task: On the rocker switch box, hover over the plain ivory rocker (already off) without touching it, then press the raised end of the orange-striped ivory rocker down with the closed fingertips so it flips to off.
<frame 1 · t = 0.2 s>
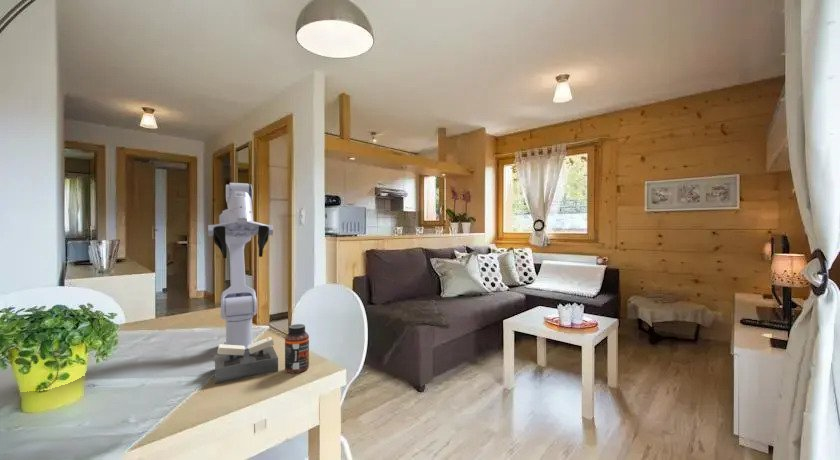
hand: (243, 254, 84), 31 cm above the table, tool tilted 45°, fingers open, 7 cm apart
rocker A: (231, 349, 92), point 5 cm above the table, hinge at -14.0°
rocker B: (260, 344, 95), point 5 cm above the table, hinge at 14.0°
rocker switch box: (246, 370, 92), on the table
supplement bottle: (297, 369, 92), on the table
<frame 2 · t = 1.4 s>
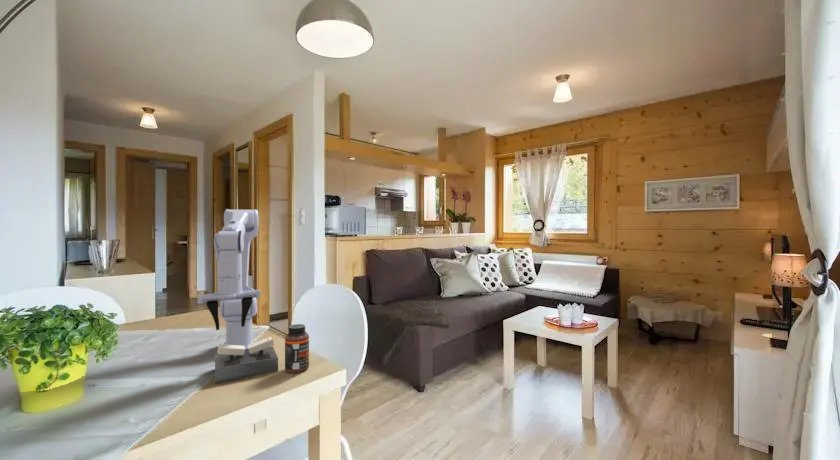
hand: (230, 327, 94), 10 cm above the table, tool pointing down, fingers open, 5 cm apart
nothing on the table moved.
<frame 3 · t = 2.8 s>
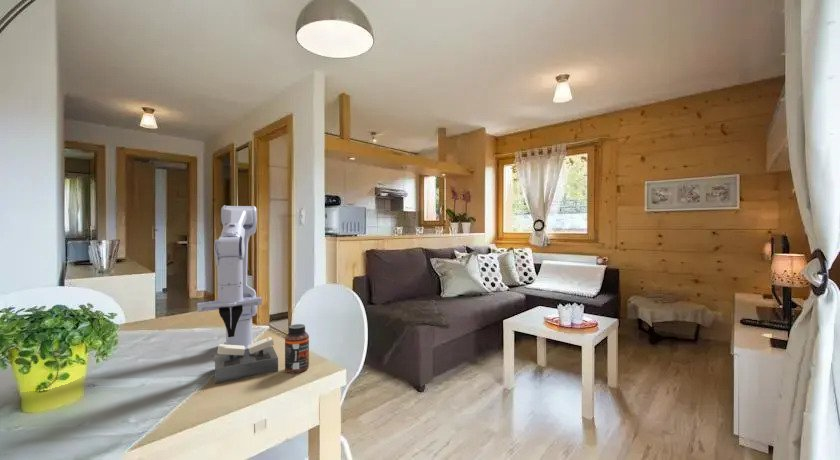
hand: (231, 335, 92), 9 cm above the table, tool pointing down, fingers closed
nothing on the table moved.
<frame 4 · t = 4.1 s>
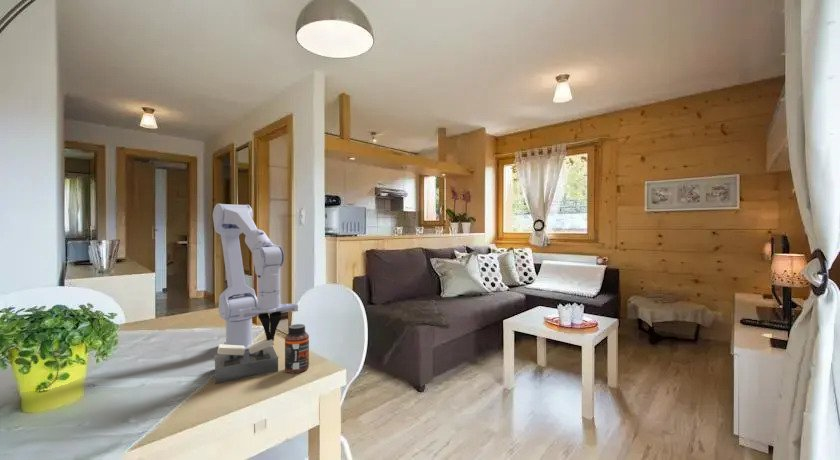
hand: (270, 340, 96), 6 cm above the table, tool pointing down, fingers closed, pressing on rocker B
rocker B: (260, 344, 95), point 5 cm above the table, hinge at 14.0°, touching gripper
everything else where it was.
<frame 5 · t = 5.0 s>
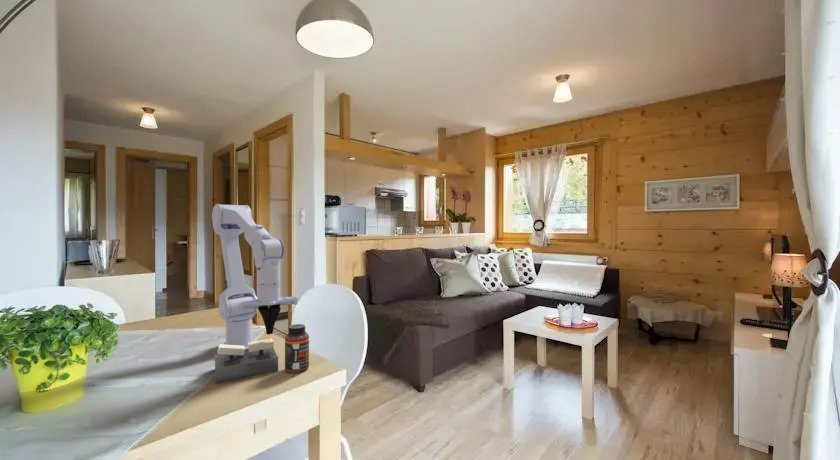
hand: (269, 333, 96), 8 cm above the table, tool pointing down, fingers closed
rocker B: (260, 344, 95), point 5 cm above the table, hinge at 1.4°
everything else where it was.
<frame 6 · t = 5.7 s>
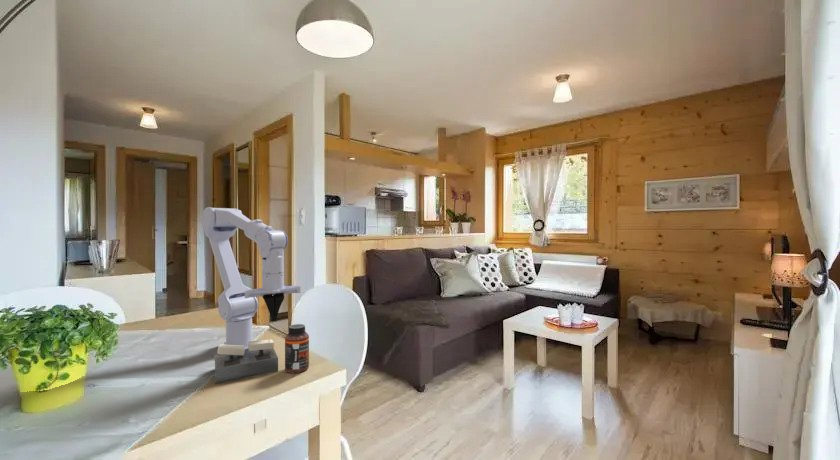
hand: (273, 320, 100), 10 cm above the table, tool pointing down, fingers closed
rocker B: (260, 344, 95), point 5 cm above the table, hinge at -4.3°
everything else where it was.
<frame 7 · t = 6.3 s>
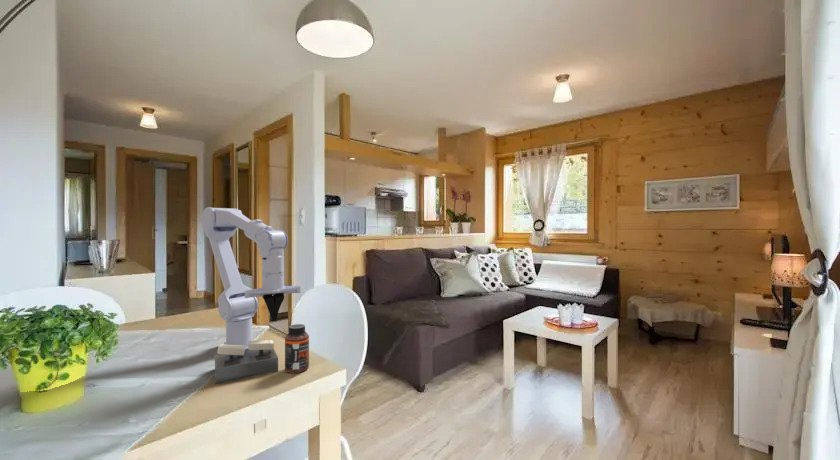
hand: (273, 320, 100), 10 cm above the table, tool pointing down, fingers closed
rocker B: (260, 344, 95), point 5 cm above the table, hinge at -8.0°
everything else where it was.
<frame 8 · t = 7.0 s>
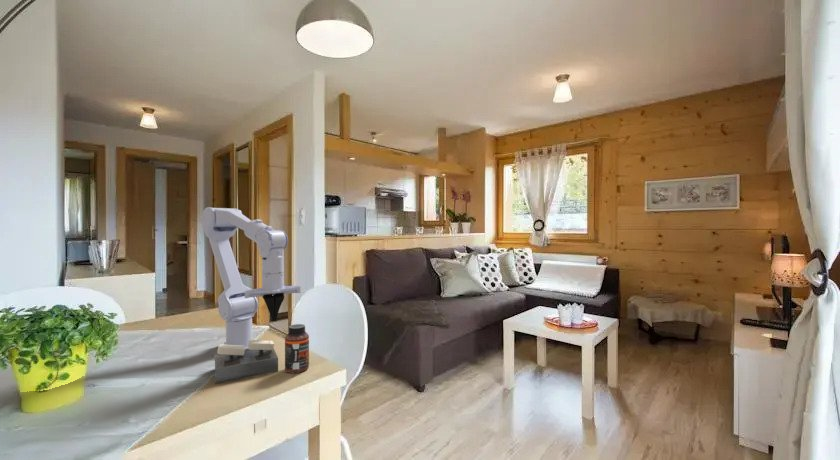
hand: (273, 320, 100), 10 cm above the table, tool pointing down, fingers closed
rocker B: (260, 344, 95), point 5 cm above the table, hinge at -11.2°
everything else where it was.
at the end: rocker B at -11° (first picture: +14°); rocker A at -14° (first picture: -14°) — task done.
